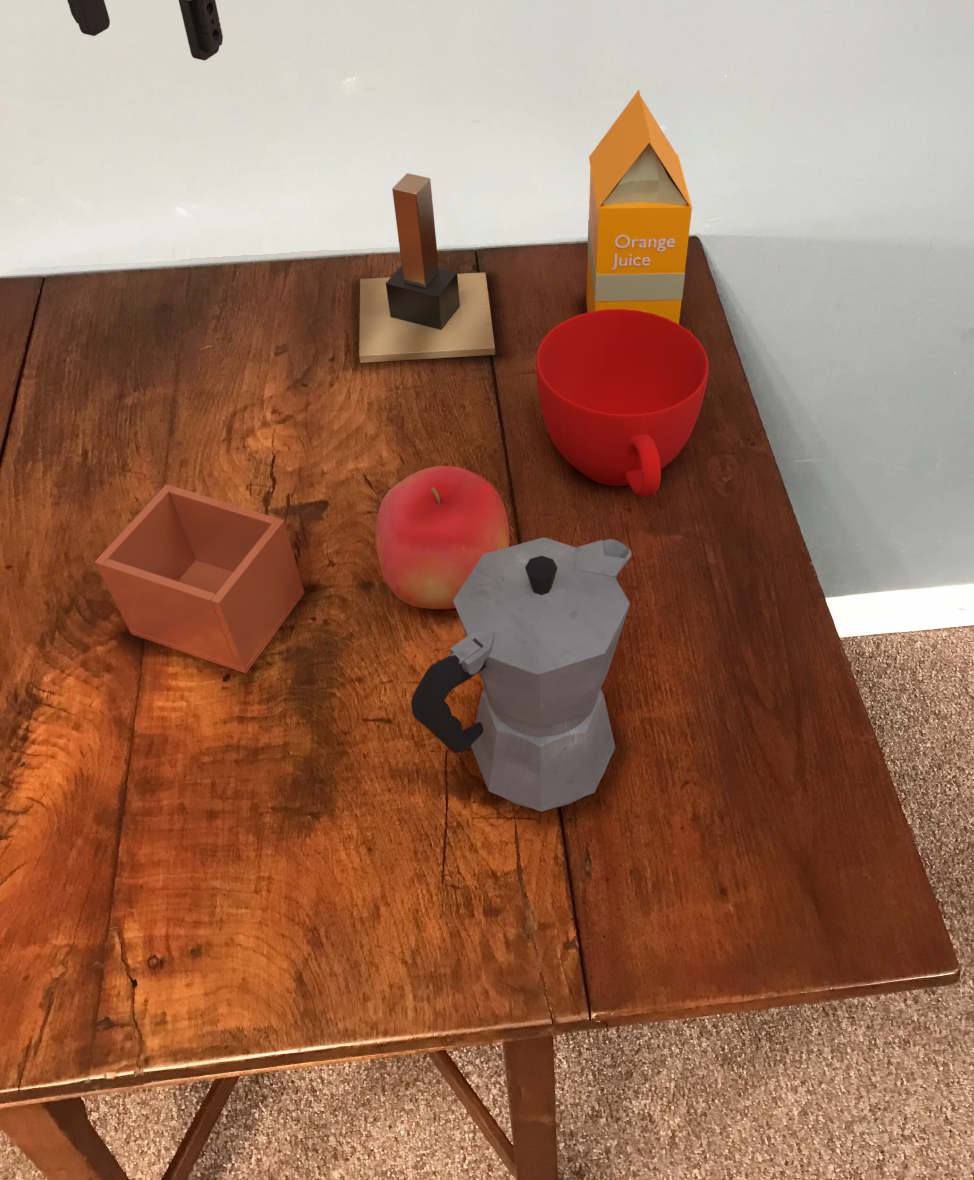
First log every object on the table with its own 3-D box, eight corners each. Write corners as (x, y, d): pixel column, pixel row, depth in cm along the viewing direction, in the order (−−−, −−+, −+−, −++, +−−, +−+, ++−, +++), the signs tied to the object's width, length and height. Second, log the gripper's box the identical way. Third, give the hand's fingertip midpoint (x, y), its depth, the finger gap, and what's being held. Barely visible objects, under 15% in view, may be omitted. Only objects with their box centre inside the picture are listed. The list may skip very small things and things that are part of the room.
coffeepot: (565, 649, 71) (569, 458, 57) (665, 733, 67) (695, 548, 53) (388, 787, 64) (344, 605, 50) (489, 889, 60) (470, 722, 46)
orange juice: (665, 299, 99) (685, 88, 83) (676, 356, 93) (701, 140, 78) (584, 301, 98) (590, 88, 83) (591, 358, 92) (598, 141, 77)
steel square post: (390, 317, 94) (371, 188, 85) (409, 293, 97) (394, 165, 87) (441, 330, 93) (429, 200, 84) (460, 306, 96) (450, 178, 86)
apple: (535, 563, 76) (534, 464, 69) (479, 658, 71) (470, 562, 63) (420, 526, 78) (406, 426, 71) (357, 615, 73) (334, 516, 65)
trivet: (360, 363, 91) (359, 355, 90) (361, 285, 99) (360, 278, 98) (495, 355, 92) (495, 347, 92) (485, 279, 100) (485, 272, 99)
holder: (130, 634, 71) (93, 561, 65) (195, 557, 76) (166, 483, 70) (246, 674, 69) (218, 602, 63) (305, 592, 74) (284, 519, 68)
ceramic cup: (560, 562, 77) (561, 463, 69) (525, 415, 87) (523, 315, 79) (727, 540, 78) (746, 442, 71) (673, 399, 89) (684, 301, 81)
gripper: (222, -264, 57) (275, 43, 69) (8, -298, 60) (96, 3, 72) (139, -237, 52) (211, 87, 65) (-89, -275, 55) (23, 43, 67)
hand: (151, 43), depth 68 cm, fingers open, 8 cm apart
